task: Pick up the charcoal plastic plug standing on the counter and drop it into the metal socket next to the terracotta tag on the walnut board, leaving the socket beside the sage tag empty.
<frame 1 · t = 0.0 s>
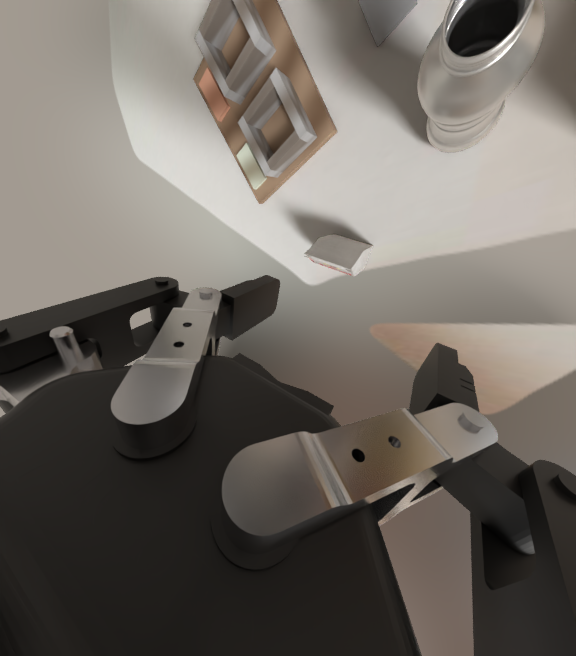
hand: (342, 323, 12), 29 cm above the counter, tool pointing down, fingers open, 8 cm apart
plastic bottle: (461, 122, 27), on the counter
small milk carton: (349, 250, 39), on the counter
socket board: (268, 95, 36), on the counter
plug: (387, 6, 26), on the counter
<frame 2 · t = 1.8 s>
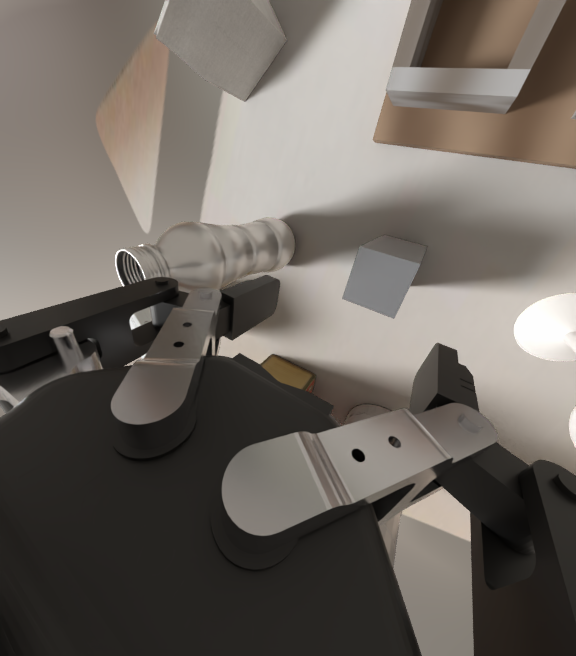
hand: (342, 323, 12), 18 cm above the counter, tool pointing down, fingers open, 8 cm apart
food packaging: (288, 390, 43), on the counter
skincare box: (217, 303, 44), on the counter
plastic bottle: (280, 243, 32), on the counter
small milk carton: (256, 56, 25), on the counter
champagne flute: (563, 328, 21), on the counter
plug: (396, 260, 26), on the counter
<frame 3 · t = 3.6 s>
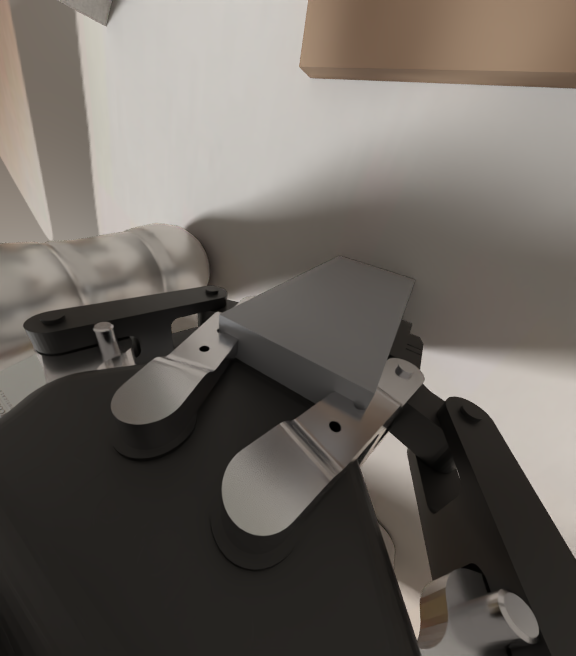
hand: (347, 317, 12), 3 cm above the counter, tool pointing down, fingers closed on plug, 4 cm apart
skincare box: (141, 336, 33), on the counter
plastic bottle: (195, 261, 21), on the counter
plug: (362, 301, 15), on the counter, touching gripper
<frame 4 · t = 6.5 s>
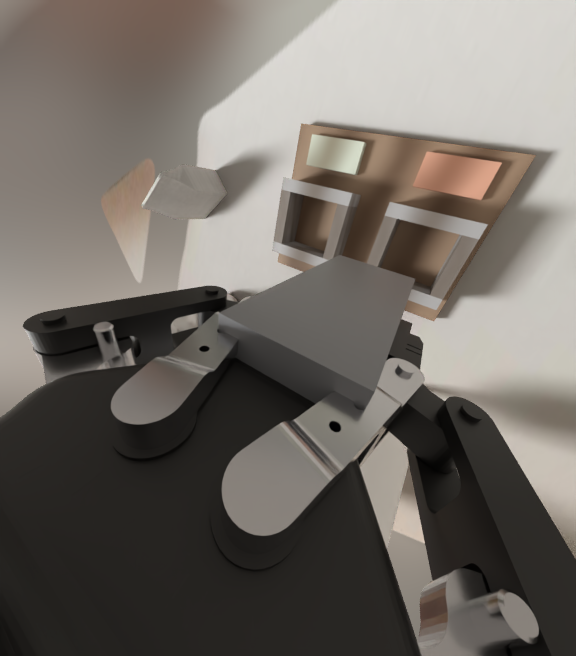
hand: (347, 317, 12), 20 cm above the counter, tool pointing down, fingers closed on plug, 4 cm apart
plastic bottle: (233, 306, 45), on the counter
small milk carton: (210, 196, 38), on the counter
socket board: (366, 236, 29), on the counter
champagne flute: (391, 380, 35), on the counter
plug: (362, 300, 15), point 17 cm above the counter, touching gripper
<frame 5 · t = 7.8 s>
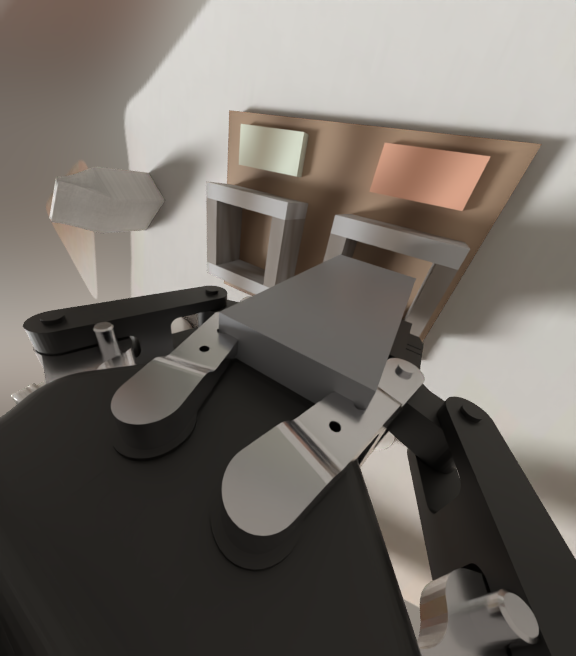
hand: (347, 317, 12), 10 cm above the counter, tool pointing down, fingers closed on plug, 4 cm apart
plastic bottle: (188, 329, 39), on the counter
small milk carton: (148, 203, 32), on the counter
socket board: (321, 255, 22), on the counter
plug: (362, 300, 15), point 7 cm above the counter, touching gripper
when the fingers open (6 cm above the counter, at t = 9.2 s): plug drops 2 cm, resting on socket board.
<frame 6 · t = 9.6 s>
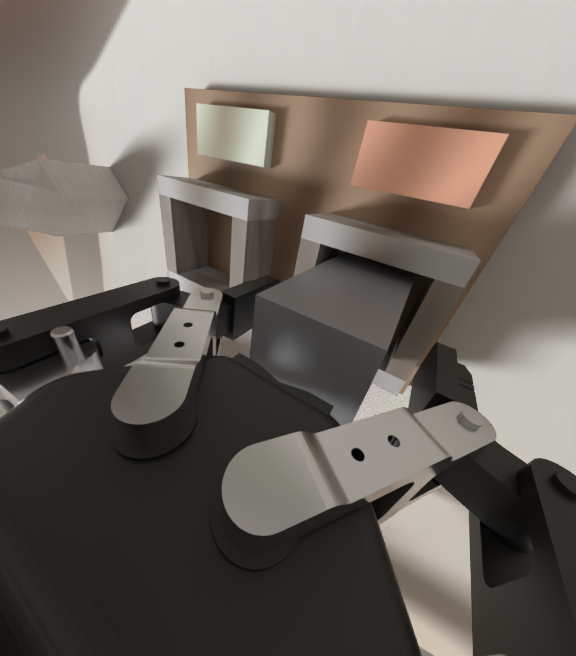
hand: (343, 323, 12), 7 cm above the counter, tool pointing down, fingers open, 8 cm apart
small milk carton: (113, 202, 29), on the counter
socket board: (300, 262, 19), on the counter
plug: (368, 292, 16), point 1 cm above the counter, touching socket board
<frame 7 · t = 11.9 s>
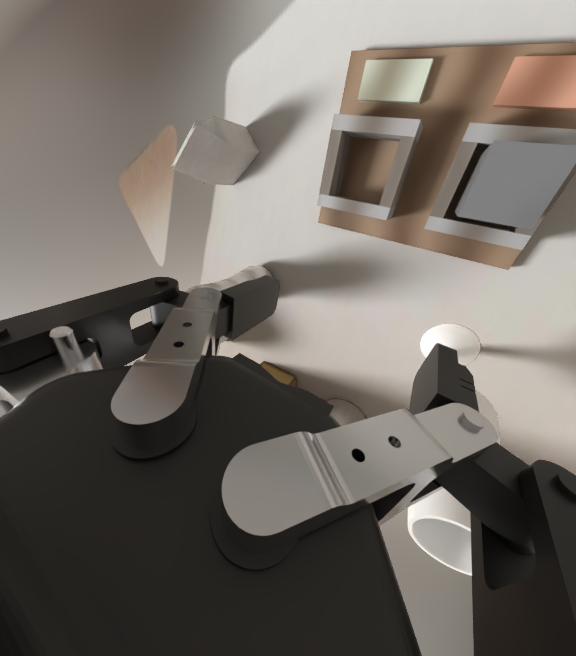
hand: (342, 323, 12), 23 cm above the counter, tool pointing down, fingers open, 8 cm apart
food packaging: (278, 389, 54), on the counter
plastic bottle: (264, 280, 43), on the counter
small milk carton: (239, 158, 36), on the counter
socket board: (425, 180, 26), on the counter
champagne flute: (448, 345, 32), on the counter
plug: (490, 189, 23), point 1 cm above the counter, touching socket board
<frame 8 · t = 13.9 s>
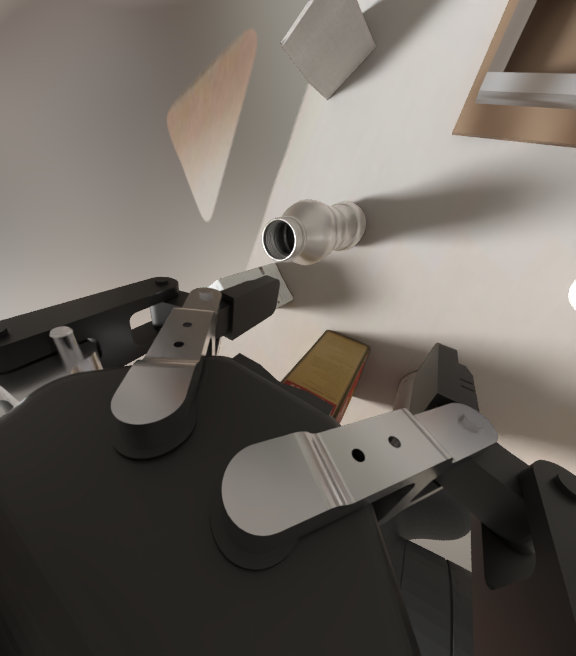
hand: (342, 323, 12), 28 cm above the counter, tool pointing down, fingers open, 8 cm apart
food packaging: (339, 363, 47), on the counter
skincare box: (274, 285, 48), on the counter
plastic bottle: (348, 225, 36), on the counter
small milk carton: (343, 61, 29), on the counter
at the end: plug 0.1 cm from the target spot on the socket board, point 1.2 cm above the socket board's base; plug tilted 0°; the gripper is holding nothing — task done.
